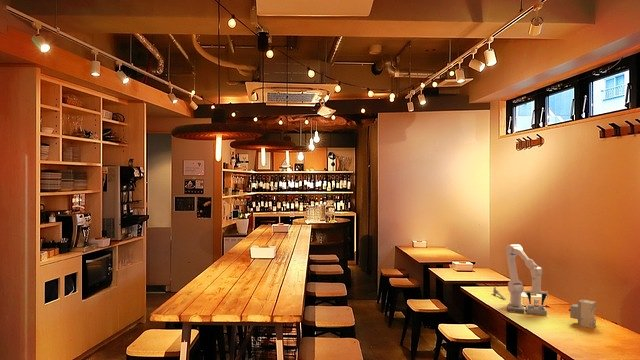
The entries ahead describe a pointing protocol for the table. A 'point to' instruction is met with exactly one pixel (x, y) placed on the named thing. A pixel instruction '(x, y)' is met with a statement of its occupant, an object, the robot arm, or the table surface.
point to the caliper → (498, 293)
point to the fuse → (536, 304)
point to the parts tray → (539, 312)
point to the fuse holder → (515, 308)
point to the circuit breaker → (584, 313)
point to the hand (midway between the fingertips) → (536, 304)
